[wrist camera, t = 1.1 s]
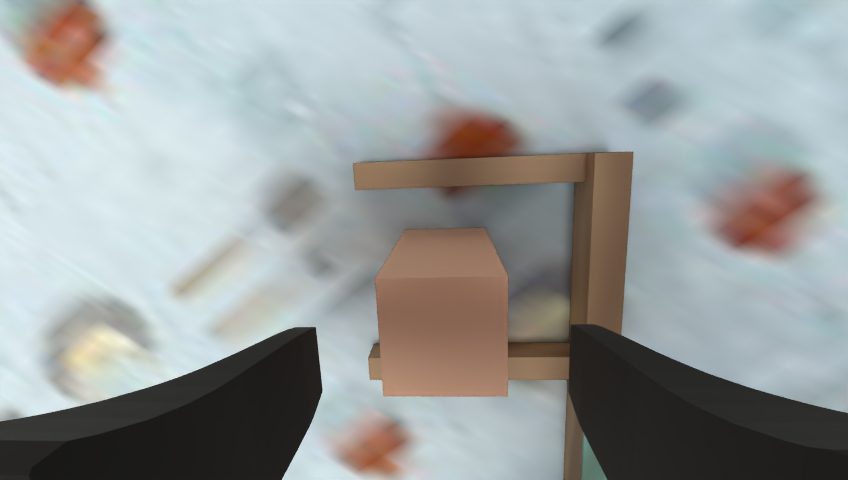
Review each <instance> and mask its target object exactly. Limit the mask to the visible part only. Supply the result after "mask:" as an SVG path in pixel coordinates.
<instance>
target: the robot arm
mask: <svg viewBox="0 0 848 480" xmlns="http://www.w3.org/2000/svg"><path fill="white" fill-rule="evenodd" d="M568 392H569V395H570V398H571V401H572V404H573V408H574V410H575V413H576V416H577V419H578V422H579V424H580V426H581V428H582V431H583V433H584V435H585V437H586V439H587V441H588V443H589V445H590V447H591V449H592V451H593V453H594V455H595V457H596V459H597V460H598V462H599V464H600V466H601V468H602V470H603V472H604V474H605V476H606V478H607V480H848V413H845V412H840V411H835V410H831V409H827V408H823V407H818V406H814V405H810V404H806V403H802V402H798V401H795V400H791V399H787V398H784V397H780V396H776V395H773V394H769V393H765V392H762V391H759V390H755V389H752V388H749V387H746V386H743V385H740V384H737V383H734V382H731V381H728V380H725V379H722V378H719V377H716V376H713V375H711V374H708V373H705V372H703V371H700V370H698V369H695V368H693V367H690V366H688V365H685V364H683V363H681V362H678V361H676V360H673V359H671V358H669V357H667V356H664V355H662V354H660V353H658V352H655V351H653V350H651V349H649V348H647V347H645V346H643V345H640V344H638V343H636V342H634V341H632V340H630V339H628V338H626V337H624V336H622V335H619V334H617V333H615V332H613V331H611V330H608V329H606V328H604V327H601V326H598V325H595V324H571V332H570V358H569V384H568ZM321 394H322V382H321V372H320V363H319V354H318V344H317V335H316V327H295V328H292V329H288V330H286V331H283V332H281V333H278V334H276V335H274V336H272V337H269V338H267V339H265V340H263V341H261V342H259V343H257V344H255V345H253V346H250V347H248V348H246V349H244V350H242V351H240V352H238V353H236V354H233V355H231V356H229V357H226V358H224V359H222V360H220V361H217V362H215V363H213V364H210V365H208V366H206V367H204V368H201V369H199V370H196V371H194V372H191V373H189V374H186V375H183V376H181V377H178V378H175V379H172V380H169V381H167V382H164V383H161V384H158V385H155V386H152V387H149V388H145V389H142V390H138V391H135V392H131V393H128V394H124V395H121V396H117V397H114V398H110V399H107V400H103V401H99V402H95V403H91V404H87V405H83V406H78V407H74V408H70V409H65V410H60V411H56V412H51V413H46V414H41V415H36V416H31V417H25V418H20V419H13V420H7V421H1V422H0V480H282V478H283V476H284V474H285V472H286V470H287V469H288V467H289V465H290V463H291V461H292V459H293V457H294V455H295V453H296V452H297V450H298V448H299V446H300V444H301V442H302V440H303V438H304V436H305V434H306V432H307V430H308V428H309V426H310V424H311V422H312V420H313V417H314V414H315V412H316V409H317V406H318V403H319V400H320V397H321Z"/></svg>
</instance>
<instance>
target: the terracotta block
mask: <svg viewBox="0 0 848 480" xmlns="http://www.w3.org/2000/svg"><path fill="white" fill-rule="evenodd" d="M375 286H376V300H377V314H378V328H379V342H380V356H381V370H382V384H383V396H503V397H508V275H507V273H506V271H505V269H504V266H503V264H502V262H501V260H500V258H499V256H498V254H497V252H496V249H495V247H494V245H493V243H492V241H491V239H490V237H489V235H488V232H487V230H486V228H485V227H484V228H450V229H415V230H405V231H404V232H403V234H402V236H401V237H400V239H399V240H398V242H397V244H396V245H395V247H394V249H393V250H392V252H391V253H390V255H389V257H388V258H387V260H386V262H385V263H384V265H383V266H382V268H381V270H380V271H379V273H378V275H377V276H376V278H375Z"/></svg>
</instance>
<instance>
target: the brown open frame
mask: <svg viewBox="0 0 848 480" xmlns="http://www.w3.org/2000/svg"><path fill="white" fill-rule="evenodd" d="M632 167H633V152H602V153H578V154H554V155H530V156H507V157H483V158H459V159H435V160H411V161H388V162H364V163H353V169H354V182H355V190H369V189H396V188H423V187H451V186H478V185H505V184H532V183H559V182H575V196H574V222H573V248H572V274H571V300H570V327H569V343H508V380H567V405H566V431H565V457H564V480H607V478H606V476H605V474H604V472H603V470H602V468H601V466H600V464H599V462H598V460H597V459H596V457H595V455H594V453H593V451H592V449H591V447H590V445H589V443H588V441H587V439H586V437H585V435H584V433H583V431H582V428H581V426H580V424H579V422H578V419H577V416H576V413H575V410H574V408H573V404H572V401H571V398H570V395H569V392H568V384H569V358H570V332H571V324H595V325H598V326H601V327H604V328H606V329H608V330H611V331H613V332H615V333H617V334H619V335H621V329H622V314H623V299H624V284H625V270H626V255H627V240H628V226H629V211H630V196H631V181H632ZM368 361H369V374H370V380H382V370H381V356H380V344H374V345H373V348H372V350H371V353H370V355H369V358H368Z"/></svg>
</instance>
